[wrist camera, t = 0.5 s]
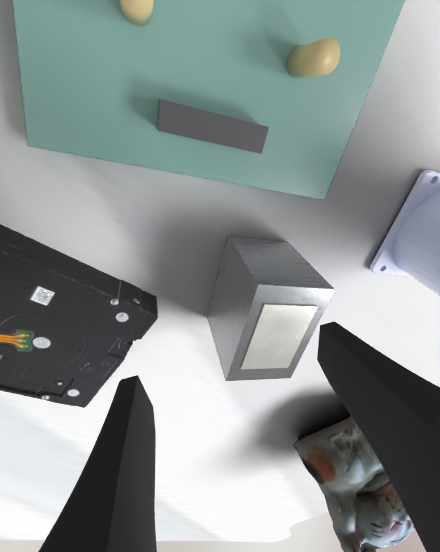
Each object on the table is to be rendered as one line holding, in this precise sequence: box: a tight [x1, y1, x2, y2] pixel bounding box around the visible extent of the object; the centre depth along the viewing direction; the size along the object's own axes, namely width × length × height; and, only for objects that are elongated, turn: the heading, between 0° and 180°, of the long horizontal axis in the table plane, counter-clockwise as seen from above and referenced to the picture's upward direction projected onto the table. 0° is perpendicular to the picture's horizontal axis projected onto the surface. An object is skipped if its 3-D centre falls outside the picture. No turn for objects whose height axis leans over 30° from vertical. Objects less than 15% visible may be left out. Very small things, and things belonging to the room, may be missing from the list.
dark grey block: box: [207, 235, 335, 381], centre depth 19 cm, size 4×7×6 cm, turn 167°
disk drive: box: [0, 224, 158, 408], centre depth 17 cm, size 10×3×15 cm
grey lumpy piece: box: [293, 416, 415, 552], centre depth 32 cm, size 15×12×14 cm
